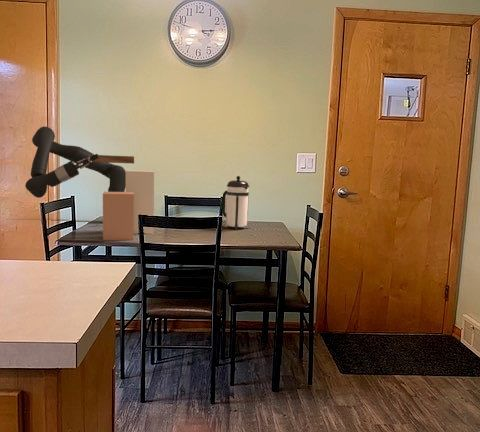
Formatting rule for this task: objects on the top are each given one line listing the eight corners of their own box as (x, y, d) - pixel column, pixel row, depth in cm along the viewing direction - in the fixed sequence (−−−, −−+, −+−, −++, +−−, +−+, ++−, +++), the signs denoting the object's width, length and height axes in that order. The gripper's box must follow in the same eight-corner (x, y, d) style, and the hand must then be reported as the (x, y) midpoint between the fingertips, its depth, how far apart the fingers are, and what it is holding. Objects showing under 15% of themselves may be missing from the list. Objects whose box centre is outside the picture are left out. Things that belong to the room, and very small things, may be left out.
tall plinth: (126, 230, 237) (126, 170, 232) (152, 230, 240) (153, 170, 235) (125, 233, 227) (125, 171, 222) (153, 233, 230) (154, 171, 225)
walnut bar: (89, 161, 223) (89, 154, 223) (134, 163, 229) (134, 156, 228) (88, 161, 220) (88, 154, 220) (134, 163, 225) (134, 156, 225)
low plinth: (104, 236, 220) (104, 191, 217) (133, 235, 223) (133, 192, 220) (103, 240, 210) (102, 193, 207) (133, 239, 213) (133, 194, 210)
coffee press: (250, 226, 264) (252, 175, 260) (248, 231, 248) (250, 177, 244) (221, 224, 266) (223, 174, 261) (217, 229, 250) (219, 175, 246)
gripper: (60, 165, 213) (92, 148, 215) (64, 164, 226) (95, 148, 228) (68, 179, 214) (101, 162, 216) (72, 177, 228) (103, 161, 230)
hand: (98, 155), depth 222 cm, fingers closed on walnut bar, 3 cm apart
